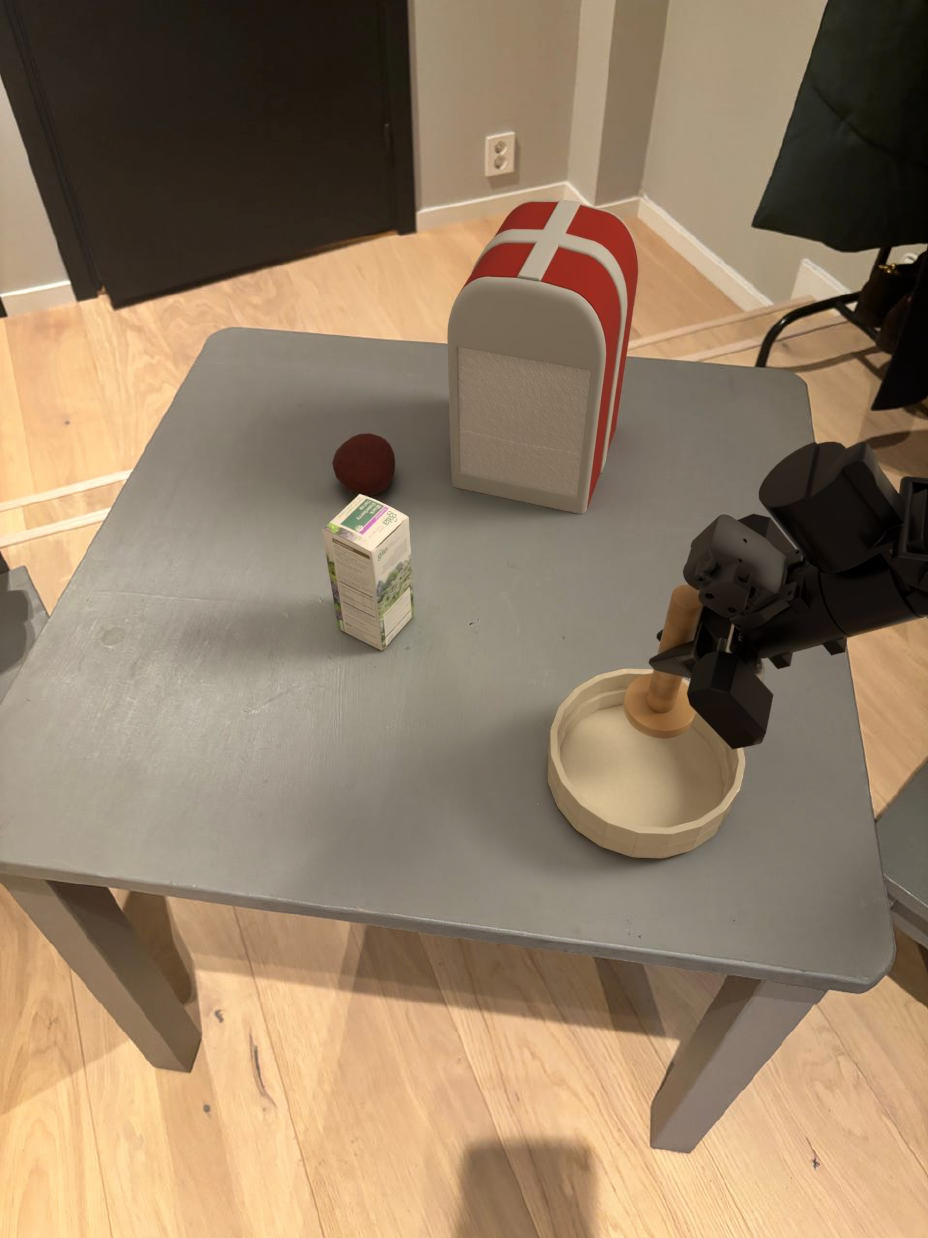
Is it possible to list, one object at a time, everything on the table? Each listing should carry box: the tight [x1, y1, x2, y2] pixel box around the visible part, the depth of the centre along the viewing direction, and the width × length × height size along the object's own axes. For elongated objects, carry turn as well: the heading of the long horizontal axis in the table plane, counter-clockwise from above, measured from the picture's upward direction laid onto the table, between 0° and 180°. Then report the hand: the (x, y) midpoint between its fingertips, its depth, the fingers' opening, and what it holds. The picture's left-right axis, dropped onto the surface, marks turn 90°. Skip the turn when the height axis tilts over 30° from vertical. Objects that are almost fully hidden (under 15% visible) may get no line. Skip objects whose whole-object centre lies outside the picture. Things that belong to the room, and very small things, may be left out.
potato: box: [331, 432, 396, 497], centre depth 103 cm, size 7×8×6 cm
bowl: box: [546, 668, 747, 859], centre depth 78 cm, size 16×16×5 cm
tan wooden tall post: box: [624, 584, 704, 739], centre depth 71 cm, size 6×6×15 cm
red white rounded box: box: [446, 198, 640, 515], centre depth 98 cm, size 17×18×27 cm
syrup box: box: [321, 494, 415, 652], centre depth 86 cm, size 6×6×14 cm
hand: (655, 652), depth 71 cm, fingers closed on tan wooden tall post, 2 cm apart
